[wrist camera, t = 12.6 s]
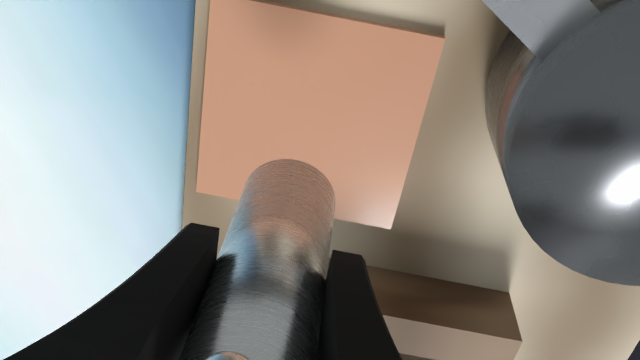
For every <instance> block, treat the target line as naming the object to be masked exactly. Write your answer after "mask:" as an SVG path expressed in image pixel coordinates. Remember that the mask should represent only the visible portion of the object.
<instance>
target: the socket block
mask: <svg viewBox="0 0 640 360" xmlns="http://www.w3.org/2000/svg"><path fill="white" fill-rule="evenodd" d="M330 259H331V258H329V261H328V268H329V263H330ZM366 267H367V271H368V275H369V278H370V282H371V285H372V288H373V291H374V294H375V297H376V300H377V302H378V305H379V308H380V310H381V313H382V315H383V318H384V320H385V322H386V325H387V327H388V330H389V332H390V335H391V337H392V339H393V341H394V343H395V345H396V348H397V350H398V352H399V353H403V354H408V355H413V356H418V357H424V358H429V359H434V360H514V358H515V356H516V354H517V352H518V350H519V348H520V346H521V344H522V342H523V341H522V338H521V334H520V330H519V327H518V323H517V319H516V316H515V312H514V308H513V305H512V301H511V297H510V294H509V292H504V291H499V290H493V289H488V288H483V287H478V286H473V285H467V284H462V283H457V282H452V281H447V280H441V279H436V278H431V277H426V276H420V275H415V274H410V273H405V272H400V271H394V270H389V269H384V268H379V267H374V266H368V265H366ZM327 272H328V269H327Z"/></svg>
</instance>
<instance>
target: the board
mask: <svg viewBox="0 0 640 360" xmlns="http://www.w3.org/2000/svg"><path fill="white" fill-rule="evenodd" d="M265 1H270V2H275V3H280V4H285V5H290V6H296V7H301V8H306V9H311V10H316V11H321V12H326V13H331V14H336V15H341V16H347V17H352V18H357V19H362V20H367V21H372V22H377V23H382V24H387V25H392V26H398V27H403V28H408V29H413V30H418V31H423V32H428V33H433V34H438V35H444V36H445V42H444V46H443V49H442V53H441V56H440V60H439V63H438V67H437V70H436V74H435V77H434V81H433V84H432V88H431V91H430V95H429V98H428V102H427V105H426V109H425V112H424V116H423V119H422V123H421V126H420V130H419V133H418V137H417V140H416V144H415V147H414V151H413V154H412V158H411V161H410V165H409V168H408V172H407V175H406V179H405V182H404V186H403V189H402V193H401V196H400V200H399V203H398V207H397V210H396V214H395V217H394V221H393V224H392V228H391V229H386V228H381V227H376V226H370V225H365V224H360V223H355V222H350V221H344V220H339V219H333V228H332V236H331V244H330V252H329V258H331V255H332V250H338V251H343V252H348V253H354V254H359V255H362V257H363V258H364V260H365V262H366V265H368V266H374V267H379V268H384V269H389V270H394V271H400V272H405V273H410V274H415V275H420V276H426V277H431V278H436V279H441V280H447V281H452V282H457V283H462V284H467V285H473V286H478V287H483V288H488V289H493V290H499V291H504V292H509V294H510V297H511V301H512V305H513V308H514V312H515V316H516V319H517V323H518V327H519V330H520V334H521V338H522V341H523V342H522V344H521V346H520V348H519V350H518V352H517V354H516V356H515V358H514V360H627V359H628V358H629V356H630V354H631V353H632V351H633V350H634V348H635V346H636V345H637V343H638V342H639V340H640V286H628V285H621V284H615V283H609V282H605V281H601V280H597V279H594V278H590V277H587V276H585V275H583V274H580V273H578V272H575V271H573V270H571V269H569V268H568V267H566V266H564V265H562V264H560V263H559V262H557V261H556V260H555V259H553V258H552V257H551V256H549V255H548V254H547V253H545V252H544V251H543V250H542V249H541V248H540V247H539V246H538V245H537V244H536V243H535V242H534V241H533V240H532V238H531V237H530V235H529V234H528V232H527V231H526V230H525V228H524V227H523V225H522V223H521V221H520V219H519V217H518V215H517V213H516V210H515V208H514V205H513V202H512V199H511V196H510V193H509V190H508V187H507V185H506V182H505V179H504V176H503V173H502V170H501V167H500V164H499V162H498V159H497V156H496V153H495V150H494V147H493V144H492V141H491V138H490V135H489V131H488V128H487V122H486V115H485V94H486V88H487V81H488V77H489V74H490V70H491V67H492V64H493V61H494V59H495V57H496V54H497V52H498V50H499V48H500V46H501V44H502V42H503V41H504V39H505V37H506V36H507V34H508V32H509V31H510V29H509V28H508V27H507V26H506V25H505V24H504V23H503V22H502V21H501V20H500V19H499V18H498V17H497V16H496V15H495V13H494V12H493V11H492V10H491V9H490V8H489V7H488V6H487V5H486V4H485V3H484V2H483V1H482V0H265ZM209 10H210V0H196V6H195V22H194V38H193V54H192V71H191V87H190V103H189V119H188V136H187V152H186V168H185V184H184V201H183V217H182V229H183V228H184V227H185V226H186V225H188V224H190V223H196V224H202V225H207V226H212V227H217V228H220V230H219V240H218V250H217V257H218V254H219V252H220V249H221V247H222V244H223V241H224V239H225V236H226V233H227V231H228V228H229V225H230V223H231V220H232V218H233V215H234V212H235V210H236V207H237V204H238V202H239V200H235V199H230V198H225V197H220V196H215V195H209V194H204V193H199V192H196V186H197V172H198V159H199V145H200V132H201V118H202V104H203V91H204V77H205V64H206V50H207V37H208V23H209ZM216 260H217V259H216ZM399 354H400V356H401V358H402V360H434V359H429V358H424V357H418V356H413V355H408V354H403V353H399Z"/></svg>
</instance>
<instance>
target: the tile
mask: <svg viewBox="0 0 640 360" xmlns="http://www.w3.org/2000/svg"><path fill="white" fill-rule="evenodd" d="M444 42H445V36H444V35H438V34H433V33H428V32H423V31H418V30H413V29H408V28H403V27H398V26H392V25H387V24H382V23H377V22H372V21H367V20H362V19H357V18H352V17H347V16H341V15H336V14H331V13H326V12H321V11H316V10H311V9H306V8H301V7H296V6H290V5H285V4H280V3H275V2H270V1H265V0H210V10H209V23H208V37H207V50H206V64H205V77H204V91H203V104H202V118H201V132H200V145H199V159H198V172H197V186H196V192H199V193H204V194H209V195H215V196H220V197H225V198H230V199H235V200H239V199H240V197H241V194H242V191H243V189H244V186H245V183H246V181H247V179H248V177H249V176H250V174H251V173H252V172H253V171H254V170H255V169H257V168H258V167H259V166H261V165H262V164H264V163H267V162H269V161H273V160H277V159H294V160H299V161H303V162H306V163H308V164H310V165H312V166H314V167H315V168H317V169H318V170H319V171H321V172H322V173H323V174H324V175H325V176H326V177H327V179H328V180H329V182H330V183H331V185H332V187H333V190H334V194H335V211H334V219H339V220H344V221H350V222H355V223H360V224H365V225H370V226H376V227H381V228H386V229H391V228H392V224H393V221H394V217H395V214H396V210H397V207H398V203H399V200H400V196H401V193H402V189H403V186H404V182H405V179H406V175H407V172H408V168H409V165H410V161H411V158H412V154H413V151H414V147H415V144H416V140H417V137H418V133H419V130H420V126H421V123H422V119H423V116H424V112H425V109H426V105H427V102H428V98H429V95H430V91H431V88H432V84H433V81H434V77H435V74H436V70H437V67H438V63H439V60H440V56H441V53H442V49H443V46H444Z"/></svg>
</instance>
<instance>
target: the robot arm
mask: <svg viewBox="0 0 640 360" xmlns="http://www.w3.org/2000/svg"><path fill="white" fill-rule="evenodd" d="M219 230H220V228H217V227H212V226H207V225H202V224H196V223H190V224H188V225H186V226H185V227H184V228H183V229H182V230H181V231H180V232H179V233H178V234H177V235H176V236H175V237H174V238H173V239H172V240H171V241H170V242H169V243H168V244H167V245H166V246H165V247H164V248H163V249H161V250H160V251H159V252H158V253H157V254H156V255H155V256H154V257H153V258H152V259H150V260H149V261H148V262H147V263H146V264H145V265H143V266H142V267H141V268H140V269H139V270H138V271H136V272H135V273H134V274H133V275H132V276H131V277H129V278H128V279H127V280H126V281H125V282H123V283H122V284H121V285H119V286H118V287H117V288H116V289H114V290H113V291H112V292H110V293H109V294H108V295H106V296H105V297H104V298H102V299H101V300H100V301H98V302H97V303H96V304H94V305H93V306H92V307H90V308H89V309H87V310H86V311H84V312H83V313H82V314H80V315H79V316H77V317H76V318H74V319H73V320H71V321H69V322H68V323H66V324H65V325H63V326H62V327H60V328H58V329H57V330H55V331H54V332H52V333H50V334H49V335H47V336H45V337H43V338H42V339H40V340H38V341H36V342H35V343H33V344H31V345H29V346H28V347H26V348H24V349H22V350H21V351H19V352H17V353H15V354H13V355H11V356H9V357H8V358H6V359H4V360H179V357H180V354H181V352H182V349H183V347H184V344H185V341H186V339H187V336H188V333H189V331H190V328H191V326H192V323H193V320H194V318H195V315H196V312H197V310H198V307H199V304H200V302H201V299H202V297H203V294H204V292H205V289H206V286H207V284H208V281H209V278H210V276H211V273H212V270H213V268H214V265H215V263H216V259H217V250H218V240H219ZM317 360H402V358H401V356H400V354H399V352H398V350H397V348H396V345H395V343H394V341H393V339H392V337H391V335H390V332H389V330H388V327H387V325H386V322H385V320H384V318H383V315H382V313H381V310H380V308H379V305H378V302H377V300H376V297H375V294H374V291H373V288H372V285H371V282H370V278H369V275H368V271H367V267H366V262H365V260H364V258H363V257H362V255H359V254H354V253H348V252H343V251H338V250H332V255H331V259H330V263H329V268H328V272H327V277H326V281H325V289H324V297H323V305H322V313H321V325H320V335H319V343H318V351H317Z"/></svg>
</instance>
